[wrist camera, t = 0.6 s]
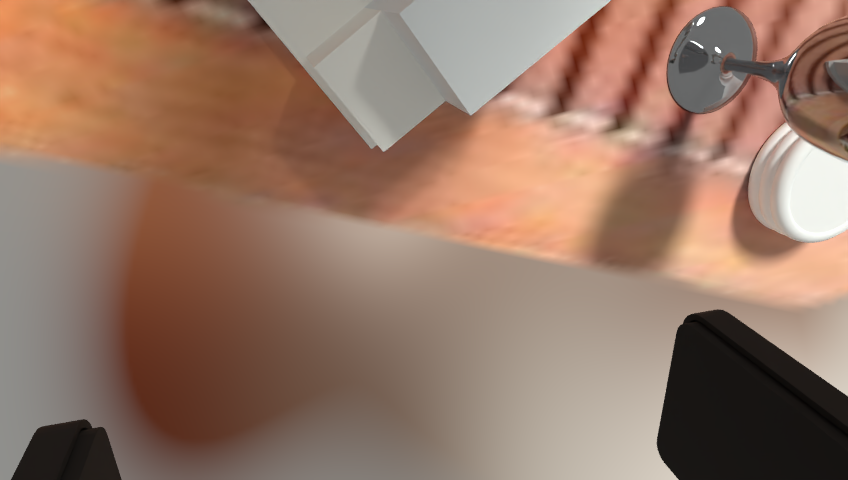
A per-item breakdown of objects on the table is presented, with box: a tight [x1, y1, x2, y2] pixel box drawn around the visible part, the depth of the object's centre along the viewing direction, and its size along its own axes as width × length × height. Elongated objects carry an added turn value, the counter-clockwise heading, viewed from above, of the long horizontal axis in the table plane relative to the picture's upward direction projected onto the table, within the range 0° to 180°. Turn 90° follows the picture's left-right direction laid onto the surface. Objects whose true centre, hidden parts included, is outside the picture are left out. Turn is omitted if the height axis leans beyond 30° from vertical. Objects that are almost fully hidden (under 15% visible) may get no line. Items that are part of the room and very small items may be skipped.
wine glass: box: [667, 6, 848, 164], centre depth 34 cm, size 8×8×15 cm
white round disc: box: [748, 122, 848, 243], centre depth 45 cm, size 10×10×4 cm
